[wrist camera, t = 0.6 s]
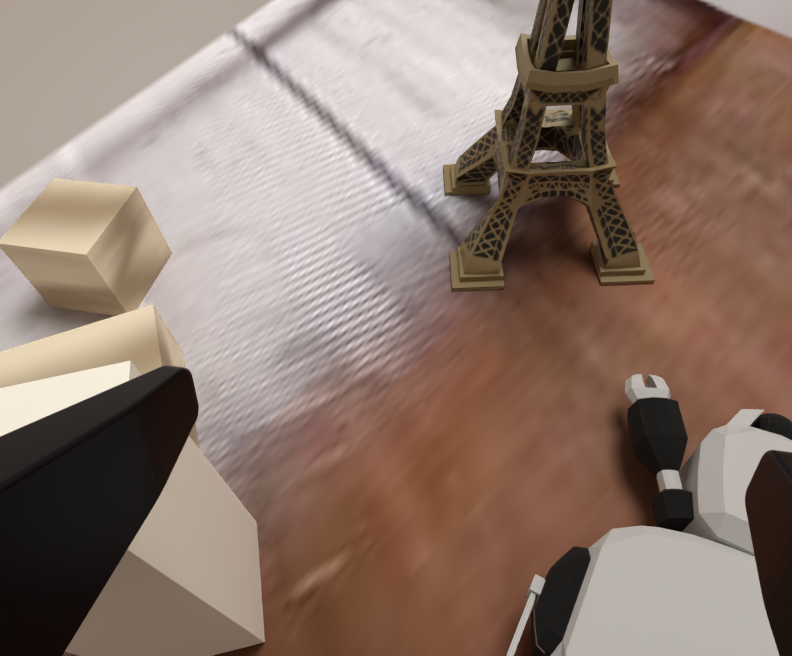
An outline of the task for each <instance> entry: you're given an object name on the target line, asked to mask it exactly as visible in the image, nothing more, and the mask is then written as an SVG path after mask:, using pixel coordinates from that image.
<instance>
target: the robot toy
mask: <svg viewBox="0 0 792 656" xmlns="http://www.w3.org/2000/svg"><path fill="white" fill-rule="evenodd" d="M646 383H647V386H648V387H645V386H644V383H643V379H642V375H641V374H635V375H633V376H631V377H630V378H629V379H627V380H626V383H625V395H626V398H627V399H628V400H629V401H630V403H631V404H632V405H631V407H630V408H629V409H628V417H627V420H628V425H629V430H630V435H631V439H632V444H633V449H634V454H635V456H636V457H637V458H638V459H639V460H640V461H641V463H642V464H643V465H644V466H645V467H646V468H647V469H648V470H649V471H650V472H651V473H652V474H653V475H654V476H655V477H656V478H657V482H658V487H659V491H660V493H658V494H657V495H656V496H654V497H653V500H652V508H653V513H654V517H655V522H656V527H651V526H633V527H624V528H615V529H611V530H610V531H609V532H608V533H607V534H605V535H604V536H603V537H602V538H601V539H599V540H598V541H597V542H596V543H595V544H593V545H592V546H591V547H590V548H582V547H575V546H574V547H573V548H572V549H571V550H569V551H568V552H567V553H566V554H565V555H564V556H563V557H561V558H560V559H559V560H558V561H557V562H556V563H555V564H554V565H553V566H552V567H551V568H550V570H549V572H548V574H547V576H546V578H545V579H544V578H542V577H540V576H538V575H536V574H535V576H534V578H533V580H532V583H531V585H530V588H529V590H528V593H527V595H526V598H528V601H527V603H526V606H525V609H524V611H523V614H522V616H521V619H520V621H519V624H518V626H517V629H516V632H515V634H514V637H513V639H512V642H511V644H510V647H509V650H508V652H507V655H506V656H514V654H515V651H516V648H517V646H518V643H519V641H520V638H521V635H522V633H523V630H524V627H525V625H526V622H527V619H528V617H529V614H530V612H531V609H532V606H533V604H534V602H535V603H536V604H535V606H534V609H533V611H532V614H531V646H532V654H533V655H534V656H779V653H778V650H777V646H776V643H775V640H774V637H773V634H772V630H771V627H770V624H769V620H768V617H767V613H766V610H765V606H764V602H763V597H762V593H761V588H760V582H759V577H758V572H757V566H756V561H755V556H754V550H753V545H752V539H751V534H750V529H749V523H748V518H747V513H746V507H745V494H746V490H747V487H748V485H749V483H750V481H751V479H752V477H753V474H754V472H755V470H756V468H757V466H758V464H759V462H760V460H761V458H762V456H763V454H764V453H765V452H767V451H769V450H778V451H785V452H792V422H791V421H790V420H789V419H787V418H785V417H783V416H781V415H778V414H769V413H767V414H762V415H760V414H761V413H762V412H763V411H764V410H756V409H741V410H740V411H739V412H738V413H737V414H736V415H735V416H734V417H733V419H732V420H731V421H730V422H729V423H728V424H727V425H725V426H722V427H719V428H716V429H713V430H712V431H711V432H710V433H709V434H708V435H707V437H706V438H705V439H704V440H703V441H702V442H701V443H700V445H699V446H698V447H697V449H696V450H695V451H694V453H693V454H692V455H691V457H690V458H689V459H688V461H687V462H686V463H685V465H684V466H683V467H682V469H681V470H680V471H679V469H680V466H681V463H682V459H683V456H684V452H685V448H686V444H687V439H688V437H687V434H686V430H685V427H684V423H683V420H682V416H681V412H680V409H679V405H678V402H677V401H675V400H671V399H670V396H671V394H670V390H669V388H668V387H667V385H666V383H665V381H664V380H663V378H661V377H658V376H656V375H648V378H647V379H646ZM759 415H760V416H759ZM678 472H679V473H678Z"/></svg>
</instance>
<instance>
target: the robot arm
mask: <svg viewBox="0 0 792 656" xmlns="http://www.w3.org/2000/svg"><path fill="white" fill-rule="evenodd" d="M198 409H199V407H198V401H197V396H196V392H195V387H194V382H193V378H192V374H191V372H190V371H189V370H188V369H187V368H185V367H178V366H171V365H165V366H161V367H159V368H157V369H154V370H152V371H150V372H147V373H145V374H143V375H141V376H138V377H136V378H134V379H131V380H129V381H127V382H124V383H122V384H120V385H117V386H115V387H113V388H111V389H108V390H106V391H104V392H101V393H99V394H97V395H94V396H92V397H90V398H88V399H85V400H83V401H81V402H78V403H76V404H74V405H71V406H69V407H67V408H65V409H62V410H60V411H58V412H55V413H53V414H51V415H48V416H46V417H44V418H41V419H39V420H37V421H35V422H32V423H30V424H28V425H25V426H23V427H21V428H18V429H16V430H14V431H12V432H9V433H7V434H5V435H2V436H0V656H62V655H63V654H64V652H65V650H66V649H67V647H68V646H69V644H70V642H71V641H72V639H73V637H74V636H75V634H76V632H77V631H78V629H79V628H80V626H81V624H82V623H83V621H84V619H85V618H86V616H87V615H88V613H89V611H90V610H91V608H92V606H93V605H94V603H95V601H96V600H97V598H98V597H99V595H100V593H101V592H102V590H103V588H104V587H105V585H106V583H107V582H108V580H109V579H110V577H111V575H112V574H113V572H114V570H115V569H116V567H117V566H118V564H119V562H120V561H121V559H122V557H123V556H124V554H125V552H126V551H127V549H128V548H129V546H130V544H131V543H132V541H133V539H134V538H135V536H136V534H137V533H138V531H139V530H140V528H141V526H142V525H143V523H144V521H145V520H146V518H147V517H148V515H149V513H150V512H151V510H152V508H153V507H154V505H155V503H156V501H157V500H158V498H159V496H160V495H161V493H162V491H163V489H164V487H165V485H166V483H167V481H168V479H169V477H170V474H171V472H172V470H173V468H174V466H175V464H176V462H177V460H178V458H179V456H180V453H181V451H182V449H183V447H184V445H185V443H186V441H187V439H188V437H189V434H190V432H191V430H192V428H193V426H194V424H195V422H196V419H197V416H198ZM745 507H746V513H747V518H748V523H749V529H750V534H751V539H752V545H753V550H754V556H755V561H756V566H757V572H758V577H759V582H760V588H761V593H762V597H763V602H764V606H765V610H766V613H767V617H768V620H769V624H770V627H771V630H772V634H773V637H774V640H775V643H776V646H777V650H778V653H779V656H792V452H785V451H778V450H769V451H767V452H765V453H764V454H763V456H762V458H761V460H760V462H759V464H758V466H757V468H756V470H755V472H754V474H753V477H752V479H751V481H750V483H749V485H748V487H747V490H746V494H745Z"/></svg>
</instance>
